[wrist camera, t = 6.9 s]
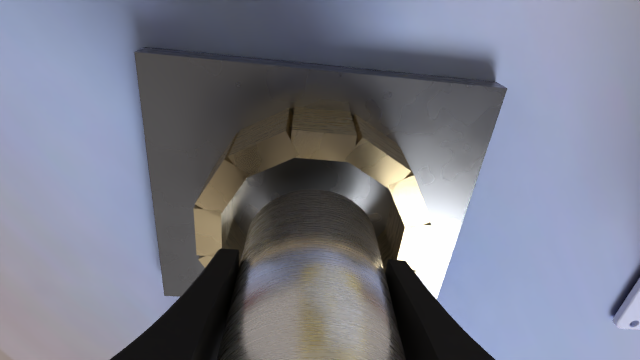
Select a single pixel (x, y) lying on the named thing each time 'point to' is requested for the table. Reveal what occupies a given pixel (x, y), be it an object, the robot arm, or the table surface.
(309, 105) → the ring plate
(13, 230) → the table surface
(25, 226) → the table surface
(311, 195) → the piston
